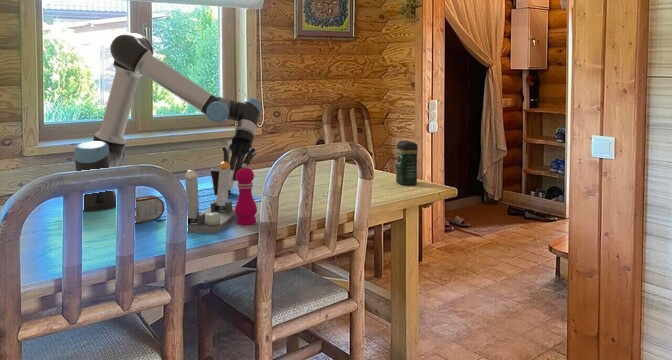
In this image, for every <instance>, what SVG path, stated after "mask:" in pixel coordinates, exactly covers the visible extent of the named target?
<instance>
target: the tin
mask: <svg viewBox="0 0 672 360" xmlns="http://www.w3.org/2000/svg"><path fill="white" fill-rule="evenodd" d="M135 198H136V208H135V211H136V216H135V221H136V223H137V224H142V223H147V222H151V221H152V222H153V221H156V219H157V220H159V219H160V218H161V217H162V215H163V214H164V212H165V203H164V201H163V200H162V199H161V198H160V197H158V196H156V195H146V196H141V197H140V196H139V197H135Z"/></svg>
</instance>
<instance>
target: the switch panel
mask: <svg viewBox="0 0 672 360" xmlns="http://www.w3.org/2000/svg"><path fill="white" fill-rule="evenodd" d="M216 203H217V200H214V201H213V202H211V203H210V207H208V208H206V209H205V210H204V211H202V212H201V213H200V212H199V215H198V216H197V223H188V226H187V227H188V233H190V234H205V235H206V234H209V235H212V234H213V235H218V234H219V233H220V232H221V231H223V230H224V229H225V228H226V227H228V226H229V225H230V224H232V223H233V222H235V221H237V218H238V216H237V215H236V213H235V207H234V206H233V201H228V202H227V203H226V204H225V211H219V210H216V206H219V205H216ZM207 213H219V214H220V224H218V225H206V214H207Z"/></svg>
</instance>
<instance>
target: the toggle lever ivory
mask: <svg viewBox="0 0 672 360" xmlns="http://www.w3.org/2000/svg"><path fill="white" fill-rule="evenodd" d="M184 177H185V178H184V179H185V180H184V181H185V182H184V183H185V195H186V194H187V198H188V223H197V216H198V215H199V214H200V204H199V203H200V200H199V199H200V198H199V185H198V184H199V182H198V181H199V180H198V174H197V172H196V171H195V170H193V169H189V170H187V171H185V176H184Z"/></svg>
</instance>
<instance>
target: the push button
mask: <svg viewBox="0 0 672 360" xmlns="http://www.w3.org/2000/svg"><path fill="white" fill-rule="evenodd" d="M218 224H220V214H219V213H207V214H206V225H218Z"/></svg>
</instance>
